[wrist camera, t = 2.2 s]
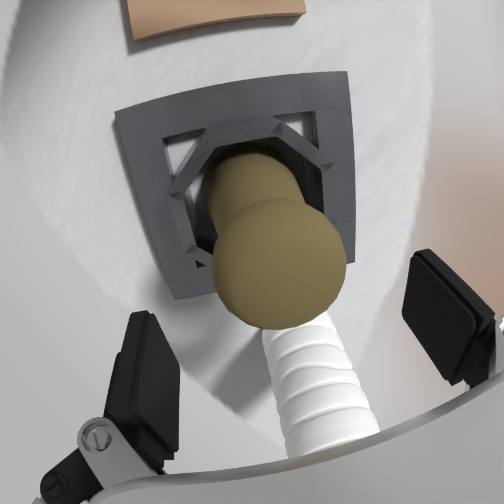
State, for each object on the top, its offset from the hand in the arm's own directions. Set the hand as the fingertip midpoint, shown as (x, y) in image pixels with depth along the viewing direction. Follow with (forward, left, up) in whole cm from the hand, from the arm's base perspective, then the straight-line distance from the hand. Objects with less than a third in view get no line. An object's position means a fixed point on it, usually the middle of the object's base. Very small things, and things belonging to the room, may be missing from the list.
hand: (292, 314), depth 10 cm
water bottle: (+14, +2, -12) cm, 19 cm away
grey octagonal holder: (-1, 0, -11) cm, 11 cm away
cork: (-1, 0, -12) cm, 12 cm away
